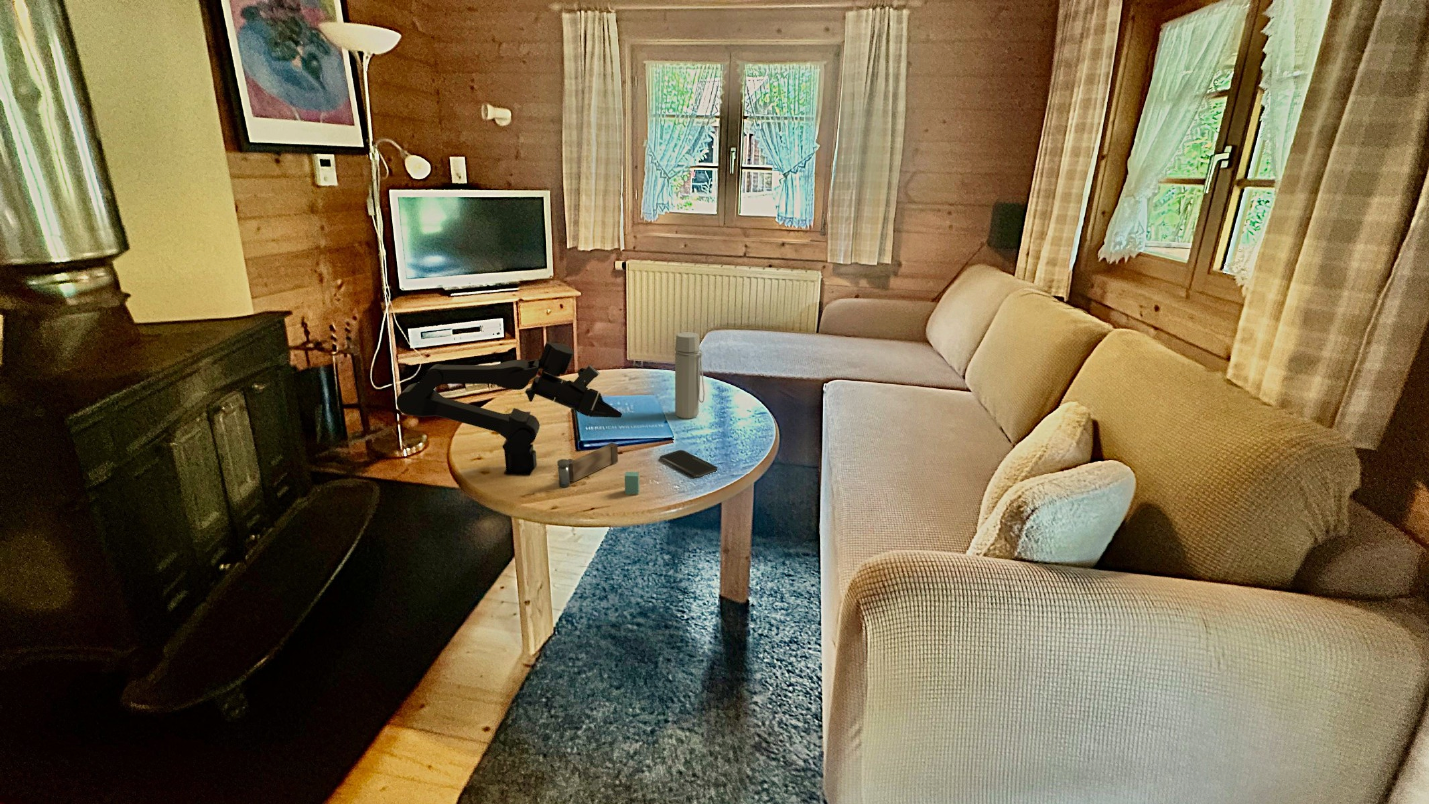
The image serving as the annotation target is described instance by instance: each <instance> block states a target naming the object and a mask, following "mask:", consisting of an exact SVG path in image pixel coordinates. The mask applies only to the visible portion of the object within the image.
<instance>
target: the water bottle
mask: <svg viewBox="0 0 1429 804" xmlns="http://www.w3.org/2000/svg"><path fill="white" fill-rule="evenodd" d="M675 338H676V339H675V346H674V351H675V354H674V355H675V356H674V357H675V359H674V362H675V363H674V366H675V368H674V372H675V373H674V375H675V376H674V381H675V383H674V384H675V386H674V390H675V391H674V394H675V395H674V403H675V404H674V406H675V408H674V414H675V415H676V416H677V417H679V418H681V419H688V420H689V419H693V418H696V417H697V416H698V415H699V413H700V408H699V407H700V404H699V403H702V404H703V403H704V401H705V397H706V396H705V394H706V393H705V381H704V371H703V362H702V357H703V353H704V352H703V350H701V347H700V345H701V344H700V335H699V333H696V332H692V331H689V332H688V331H684V332H678V333H676V334H675ZM701 383H702V391H703V392H702V393H703V395H702V400H701V396H700V394H701Z"/></svg>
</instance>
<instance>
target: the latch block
mask: <svg viewBox="0 0 1429 804" xmlns="http://www.w3.org/2000/svg"><path fill="white" fill-rule="evenodd" d="M639 493H640V472H639V471H626V472H625V474H624V494H625V495H639Z"/></svg>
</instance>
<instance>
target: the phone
mask: <svg viewBox="0 0 1429 804" xmlns="http://www.w3.org/2000/svg"><path fill="white" fill-rule="evenodd" d="M659 461H660V462H662V463H664V464H666V465H668V466H669V467H671V468H673V469H675V470H677V471H679V472H680V473H683V474H684V475H686V476H688V477H690V478H691V479H694V478H698V479H701V478H703V476H704V475H707V476H709V475H711V474H710V473H712V474H714V473H713V472H715V473H717V472H718V467H717V466H716V465H714V464H712V463H710V462H708V461H706V460H703V459H702V458H700V457H698V456H696V455H694V454H691V453H690V452H687V451H686V450H684V449H678V450H675V451H672V452H669V453H666V454H663V455H660V456H659ZM716 471H717V472H716ZM708 474H709V475H708ZM704 477H705V476H704Z"/></svg>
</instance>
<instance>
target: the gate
mask: <svg viewBox="0 0 1429 804" xmlns="http://www.w3.org/2000/svg"><path fill="white" fill-rule="evenodd" d="M618 447H619V445H618V443H615V442H609V443H606V444H605V446H602V447H600V448H598V449H596V450H593V451H591V452H589V453H587V454H585V455H581V456H580V457H578V458H576V459H573V458H568V459H566V458H564V459H559V460H557V467H566V466H569V481H571V482H573V483H574V482H576V481H578V480H580V479H583V478H584V477H586V476H588V475H591V474H593V473H595V472H597V471H599V470H601V469H604V468H605V467H608V466H609V465H614V464H616V463H617V462H619V453H618V452H619V450H618V449H619V448H618Z"/></svg>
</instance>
